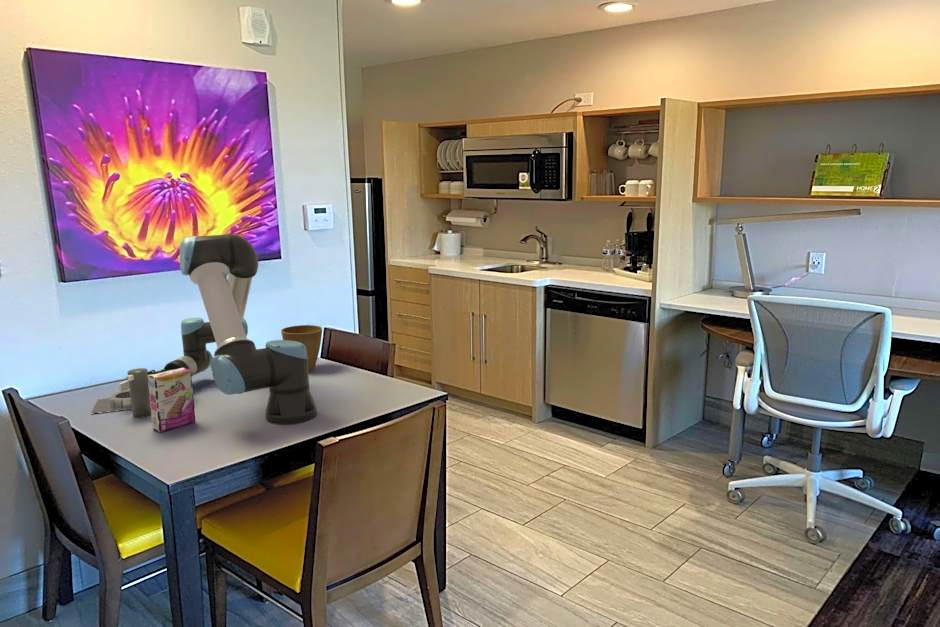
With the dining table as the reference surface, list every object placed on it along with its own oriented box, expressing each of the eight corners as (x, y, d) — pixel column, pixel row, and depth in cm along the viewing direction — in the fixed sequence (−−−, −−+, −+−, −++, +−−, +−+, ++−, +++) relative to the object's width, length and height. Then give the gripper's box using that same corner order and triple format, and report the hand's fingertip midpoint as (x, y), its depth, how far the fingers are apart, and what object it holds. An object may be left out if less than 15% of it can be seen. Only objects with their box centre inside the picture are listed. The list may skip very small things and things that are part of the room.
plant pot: (293, 378, 246) (290, 335, 243) (278, 369, 258) (275, 328, 255) (331, 370, 255) (328, 329, 252) (315, 362, 267) (312, 322, 264)
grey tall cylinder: (140, 410, 214) (135, 368, 211) (156, 411, 213) (151, 368, 210) (125, 418, 207) (120, 374, 205) (142, 419, 207) (136, 374, 204)
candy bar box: (160, 433, 195) (154, 378, 192) (152, 429, 198) (145, 375, 195) (197, 422, 203) (191, 369, 200) (188, 418, 206) (183, 366, 203)
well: (161, 406, 218) (160, 396, 218) (91, 414, 211) (90, 405, 211) (164, 393, 231) (163, 384, 230) (98, 401, 224) (97, 392, 224)
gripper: (214, 382, 229) (177, 402, 209) (147, 379, 233) (105, 399, 213) (212, 360, 228) (175, 378, 207) (145, 358, 232) (102, 376, 212)
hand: (139, 389), depth 210 cm, fingers open, 13 cm apart
